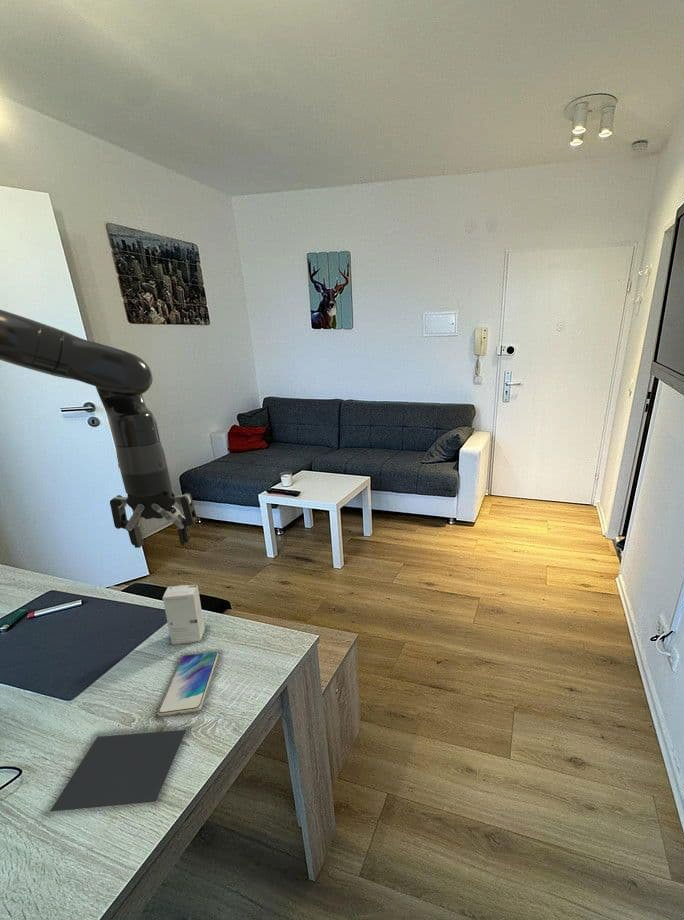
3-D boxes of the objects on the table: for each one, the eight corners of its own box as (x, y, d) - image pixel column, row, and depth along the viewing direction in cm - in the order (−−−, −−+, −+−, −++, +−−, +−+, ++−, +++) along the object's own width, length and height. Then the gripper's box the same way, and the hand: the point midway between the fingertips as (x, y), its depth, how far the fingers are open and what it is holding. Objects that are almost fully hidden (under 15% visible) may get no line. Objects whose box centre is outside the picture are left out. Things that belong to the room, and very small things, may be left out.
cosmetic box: (171, 646, 92) (160, 598, 87) (177, 632, 96) (166, 586, 91) (202, 642, 93) (192, 594, 89) (206, 629, 97) (197, 583, 93)
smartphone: (155, 714, 74) (181, 655, 88) (157, 718, 75) (182, 658, 88) (200, 708, 76) (219, 650, 89) (201, 712, 76) (219, 654, 90)
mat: (50, 813, 60) (49, 811, 60) (98, 738, 71) (97, 736, 71) (156, 803, 61) (155, 801, 61) (186, 731, 72) (186, 729, 72)
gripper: (191, 460, 84) (205, 535, 90) (112, 462, 82) (132, 538, 88) (176, 471, 77) (193, 552, 83) (91, 474, 75) (114, 556, 81)
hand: (162, 544), depth 86 cm, fingers open, 8 cm apart
